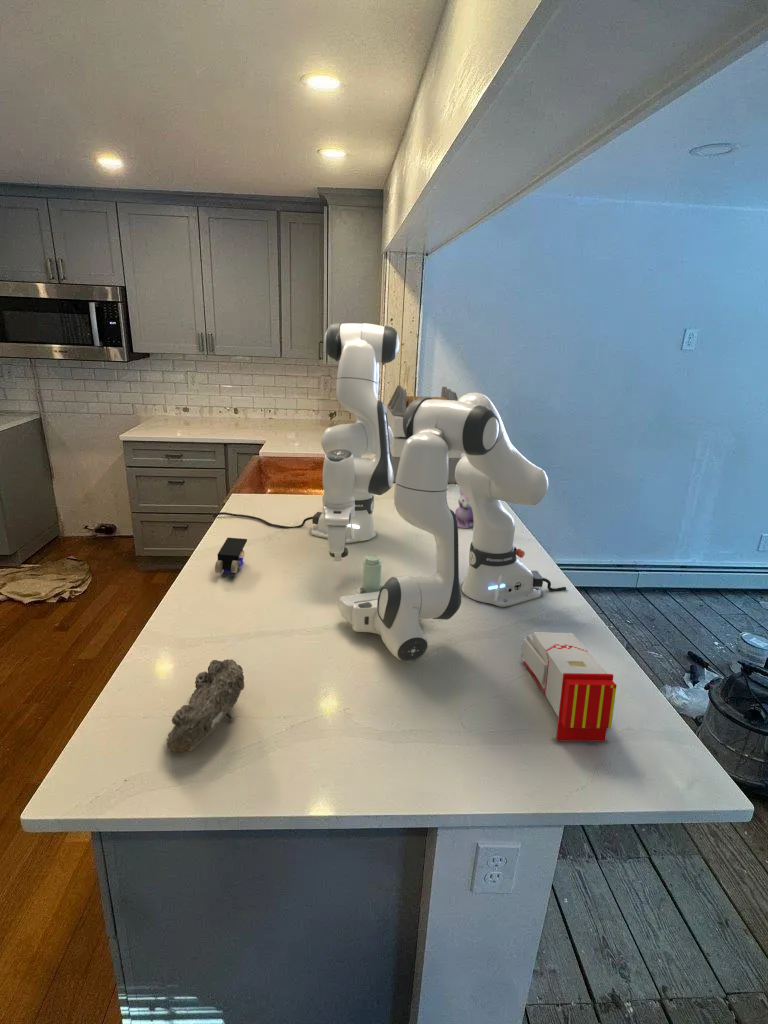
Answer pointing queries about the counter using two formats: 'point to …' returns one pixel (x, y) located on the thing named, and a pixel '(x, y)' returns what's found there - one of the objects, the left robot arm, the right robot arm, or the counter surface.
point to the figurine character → (230, 556)
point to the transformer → (395, 422)
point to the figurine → (464, 512)
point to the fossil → (206, 705)
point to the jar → (371, 574)
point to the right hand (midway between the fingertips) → (370, 589)
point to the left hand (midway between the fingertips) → (338, 555)
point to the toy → (571, 685)
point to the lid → (341, 553)
